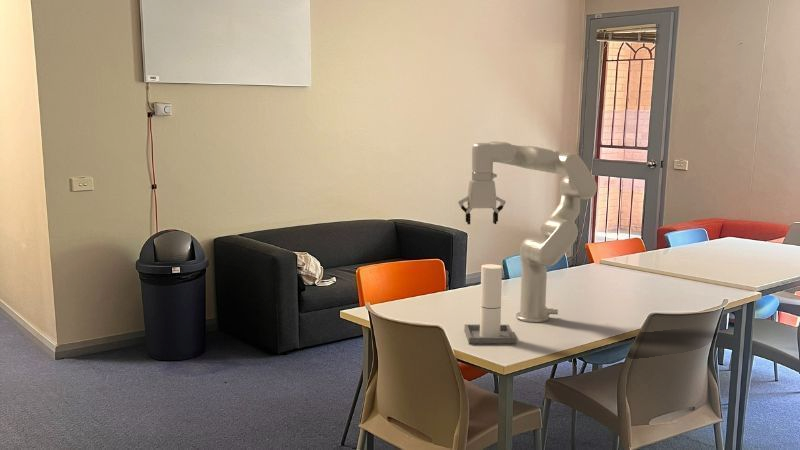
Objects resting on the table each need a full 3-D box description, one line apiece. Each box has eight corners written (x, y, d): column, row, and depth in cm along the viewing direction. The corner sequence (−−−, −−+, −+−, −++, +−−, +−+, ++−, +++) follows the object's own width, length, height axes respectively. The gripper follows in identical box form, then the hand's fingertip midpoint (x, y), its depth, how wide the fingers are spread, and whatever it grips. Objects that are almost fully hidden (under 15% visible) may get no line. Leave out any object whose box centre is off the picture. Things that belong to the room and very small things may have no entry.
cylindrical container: (498, 332, 267) (500, 264, 263) (501, 338, 260) (503, 268, 256) (478, 332, 267) (480, 264, 263) (481, 338, 260) (482, 268, 256)
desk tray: (508, 331, 272) (508, 324, 271) (515, 344, 256) (515, 337, 256) (464, 330, 271) (464, 324, 271) (469, 344, 256) (469, 337, 255)
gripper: (503, 176, 276) (502, 221, 278) (457, 176, 275) (456, 222, 277) (508, 177, 268) (507, 225, 271) (460, 178, 267) (459, 225, 270)
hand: (481, 223), depth 274 cm, fingers open, 9 cm apart
